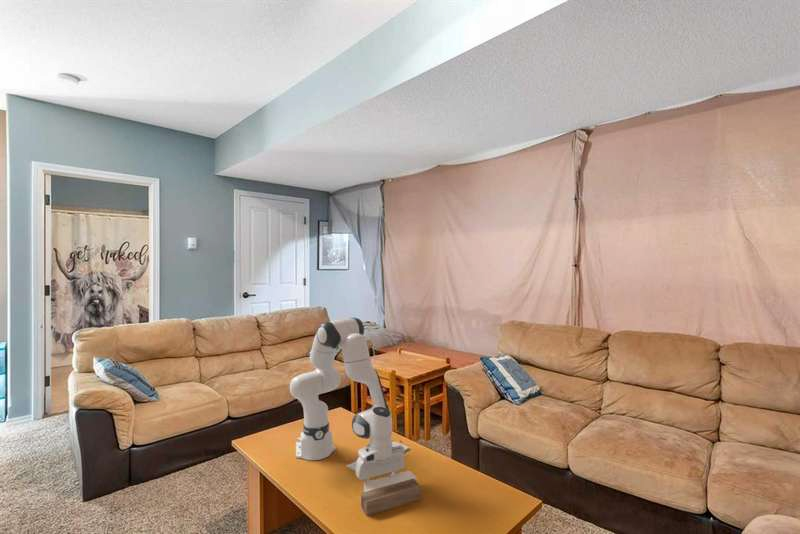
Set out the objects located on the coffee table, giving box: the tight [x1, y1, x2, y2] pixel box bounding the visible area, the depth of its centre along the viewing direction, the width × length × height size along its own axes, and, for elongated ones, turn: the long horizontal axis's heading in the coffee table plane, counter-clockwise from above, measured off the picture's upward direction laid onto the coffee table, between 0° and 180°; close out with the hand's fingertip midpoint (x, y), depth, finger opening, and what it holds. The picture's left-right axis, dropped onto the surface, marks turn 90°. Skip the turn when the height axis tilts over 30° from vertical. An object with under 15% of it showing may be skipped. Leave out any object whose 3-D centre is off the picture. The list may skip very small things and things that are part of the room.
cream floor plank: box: [363, 470, 418, 492], centre depth 152 cm, size 6×20×5 cm, turn 116°
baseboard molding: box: [345, 438, 410, 473], centre depth 180 cm, size 31×3×12 cm
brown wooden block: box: [360, 479, 422, 517], centre depth 146 cm, size 6×22×5 cm, turn 116°
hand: (380, 484), depth 154 cm, fingers open, 8 cm apart
